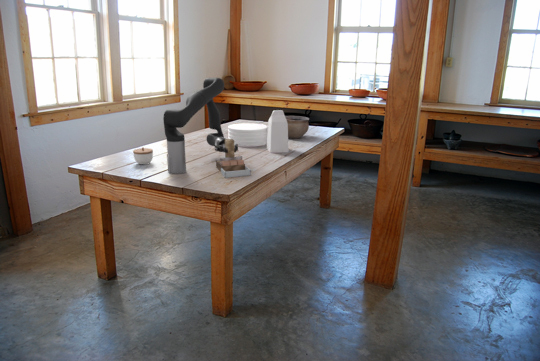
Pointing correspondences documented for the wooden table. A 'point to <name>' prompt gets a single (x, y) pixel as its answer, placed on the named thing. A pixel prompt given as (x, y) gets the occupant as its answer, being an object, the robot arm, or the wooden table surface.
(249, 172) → the tray
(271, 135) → the milk
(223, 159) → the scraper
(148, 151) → the lidded jar
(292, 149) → the wooden table surface
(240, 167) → the board
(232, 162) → the tile mid
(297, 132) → the ceramic bowl
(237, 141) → the plate stack
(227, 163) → the tile left
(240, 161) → the tile right
